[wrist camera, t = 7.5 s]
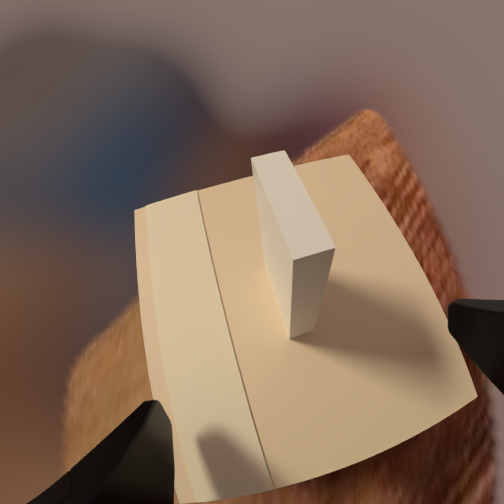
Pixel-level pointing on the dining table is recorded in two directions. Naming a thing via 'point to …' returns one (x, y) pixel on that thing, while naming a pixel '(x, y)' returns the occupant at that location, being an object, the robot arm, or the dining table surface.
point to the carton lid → (288, 328)
